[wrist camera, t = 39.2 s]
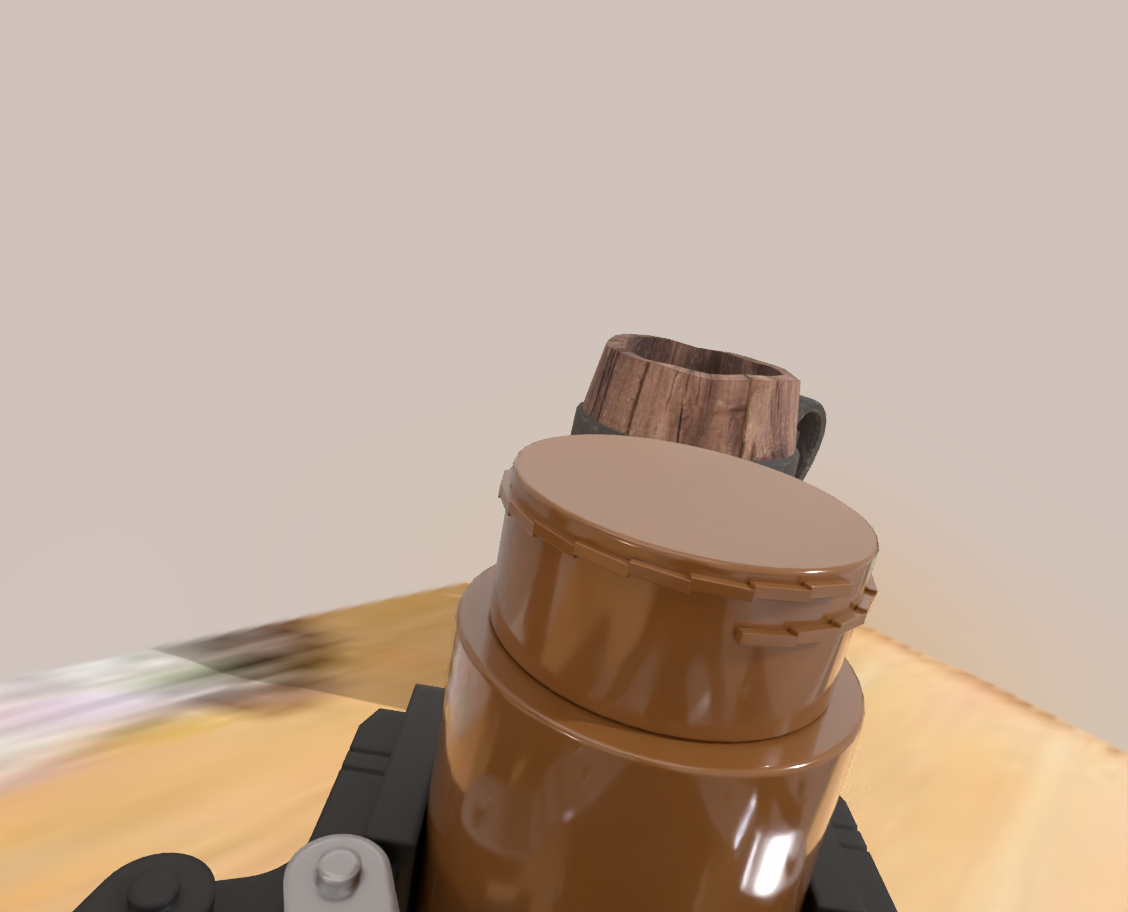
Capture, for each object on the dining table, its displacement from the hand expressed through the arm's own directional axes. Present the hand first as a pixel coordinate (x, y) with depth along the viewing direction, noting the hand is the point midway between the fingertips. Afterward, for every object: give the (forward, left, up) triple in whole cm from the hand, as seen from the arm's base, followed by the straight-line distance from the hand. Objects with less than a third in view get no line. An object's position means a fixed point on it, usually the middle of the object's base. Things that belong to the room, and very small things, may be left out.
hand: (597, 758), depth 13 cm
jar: (+2, -1, -7) cm, 7 cm away
